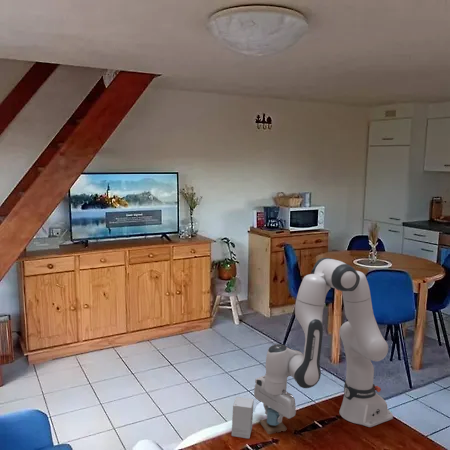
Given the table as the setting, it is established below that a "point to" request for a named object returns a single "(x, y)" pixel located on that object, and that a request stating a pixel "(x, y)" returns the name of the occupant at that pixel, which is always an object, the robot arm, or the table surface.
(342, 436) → the table surface
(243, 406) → the supplement box
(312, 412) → the table surface
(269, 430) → the post base
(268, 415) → the teal cap
